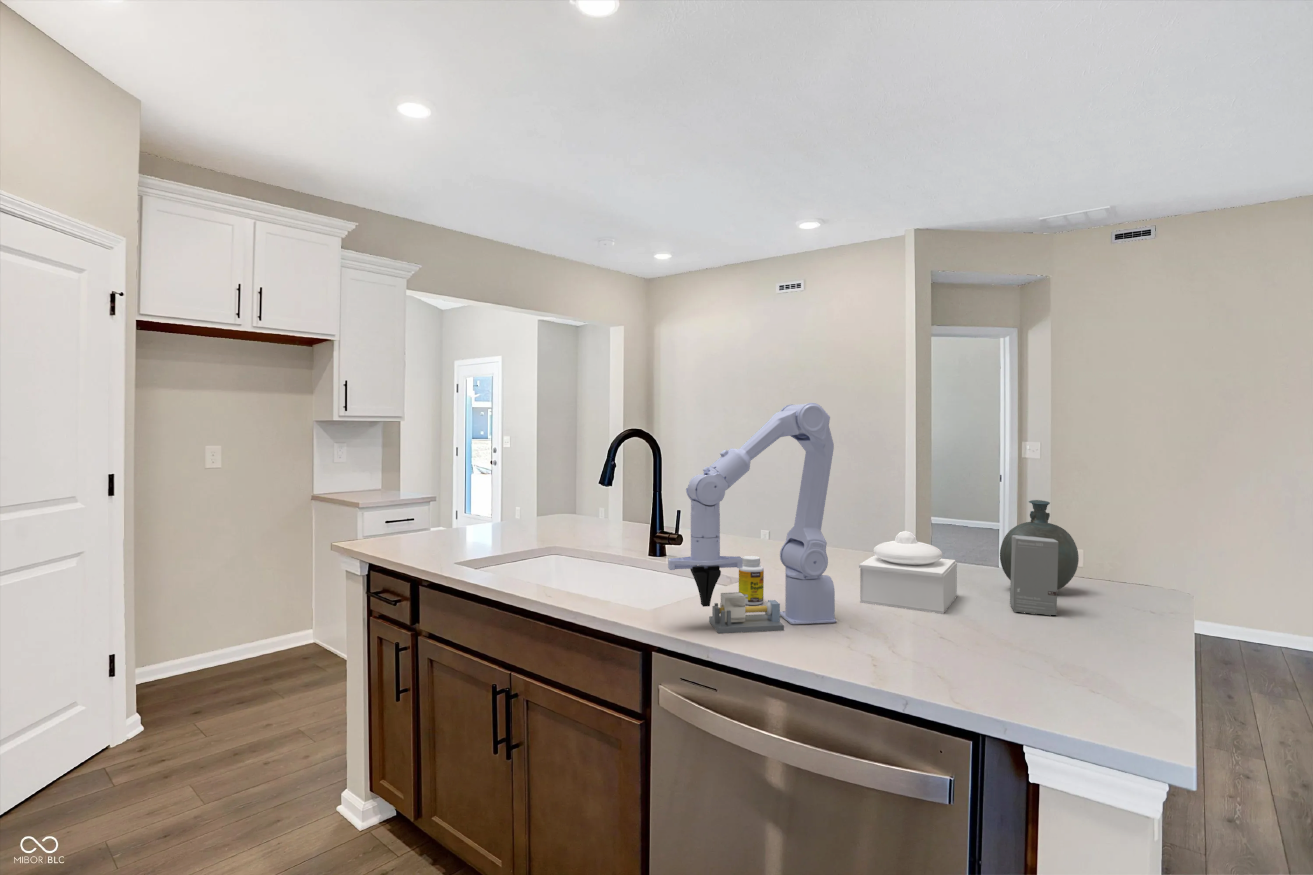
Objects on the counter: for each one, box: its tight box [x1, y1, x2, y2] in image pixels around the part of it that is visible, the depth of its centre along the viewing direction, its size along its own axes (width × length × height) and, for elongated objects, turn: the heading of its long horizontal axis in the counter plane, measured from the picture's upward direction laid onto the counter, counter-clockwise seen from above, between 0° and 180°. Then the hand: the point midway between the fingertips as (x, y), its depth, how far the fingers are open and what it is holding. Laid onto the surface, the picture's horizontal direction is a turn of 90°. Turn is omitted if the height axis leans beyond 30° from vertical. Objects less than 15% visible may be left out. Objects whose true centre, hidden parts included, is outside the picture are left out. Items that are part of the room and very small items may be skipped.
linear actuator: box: [708, 599, 785, 634], centre depth 129 cm, size 13×8×4 cm, turn 98°
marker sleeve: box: [720, 591, 746, 622], centre depth 129 cm, size 4×4×5 cm
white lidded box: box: [858, 530, 958, 615], centre depth 150 cm, size 18×18×16 cm
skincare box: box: [1009, 535, 1058, 616], centre depth 140 cm, size 8×7×16 cm
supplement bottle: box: [738, 555, 765, 606], centre depth 147 cm, size 6×6×10 cm
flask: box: [999, 499, 1079, 591], centre depth 157 cm, size 12×17×22 cm
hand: (705, 605), depth 128 cm, fingers closed
